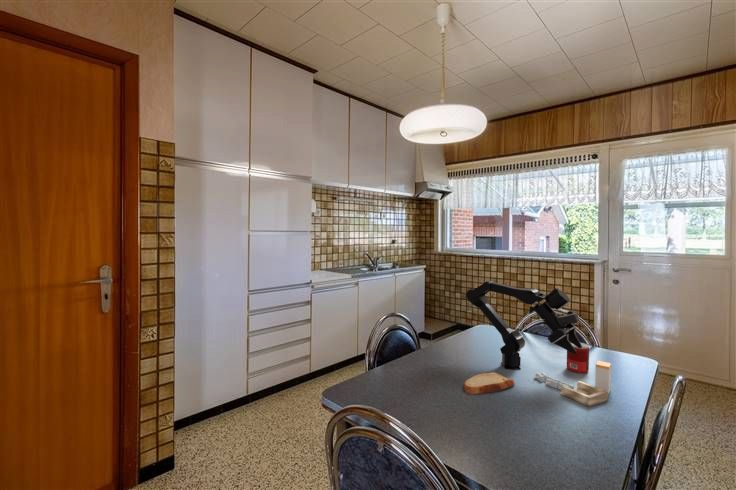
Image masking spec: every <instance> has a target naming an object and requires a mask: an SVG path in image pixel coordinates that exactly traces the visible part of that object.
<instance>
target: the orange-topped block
mask: <svg viewBox="0 0 736 490" xmlns="http://www.w3.org/2000/svg"><path fill="white" fill-rule="evenodd" d="M594 377H595V380H594V381H595V383H594V387H597V388H600V389H602V390H605V391H608V395H609V394H610V392H611V390H612V387H611V386H612V362H611V363H610V362H608V361H607V362H606V361H602V360H598V361H597V362H596V363H595V376H594Z"/></svg>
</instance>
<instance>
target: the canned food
mask: <svg viewBox="0 0 736 490" xmlns="http://www.w3.org/2000/svg"><path fill="white" fill-rule="evenodd" d="M570 343H571V342H570ZM580 343H581V345H582V347H581V348H578V347H577V346H575V345H574V344H572V343H571V344H572V346H573V347H574V349H575V350H576V352H577V353H576V354H573V353H571V352H569V351H567V350H566V369H567V370H568V371H570V372H572V373H575V374H588V372H589V369H590V368H589V367H590V365H589V364H590V345H589V344H588V343H584V342H580Z"/></svg>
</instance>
